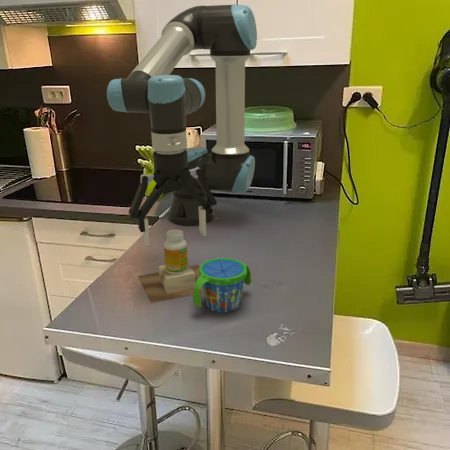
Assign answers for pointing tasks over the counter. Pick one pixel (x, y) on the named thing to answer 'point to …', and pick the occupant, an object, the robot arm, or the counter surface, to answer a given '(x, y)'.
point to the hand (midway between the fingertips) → (175, 238)
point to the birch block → (177, 280)
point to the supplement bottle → (175, 252)
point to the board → (157, 290)
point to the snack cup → (221, 283)
